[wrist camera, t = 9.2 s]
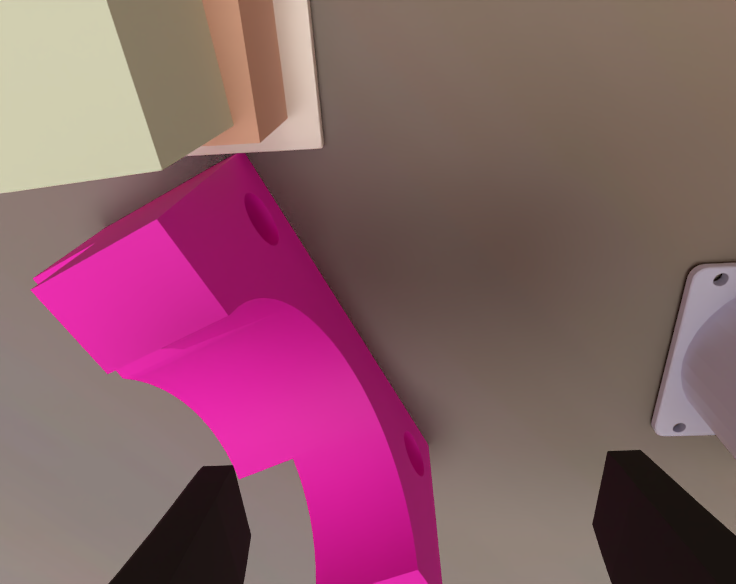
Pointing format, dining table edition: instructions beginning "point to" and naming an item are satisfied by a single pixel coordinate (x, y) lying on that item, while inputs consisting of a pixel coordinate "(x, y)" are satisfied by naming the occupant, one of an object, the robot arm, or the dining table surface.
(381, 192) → the dining table surface
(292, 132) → the baseplate
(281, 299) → the toy block
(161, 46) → the sage brick
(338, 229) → the dining table surface
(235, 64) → the terracotta brick
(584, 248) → the dining table surface
